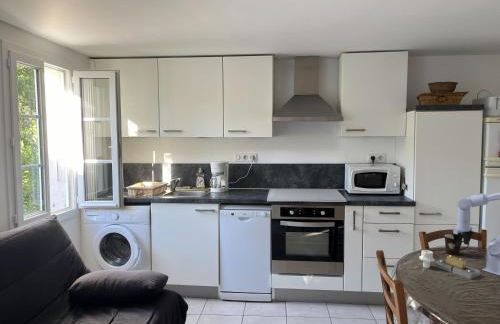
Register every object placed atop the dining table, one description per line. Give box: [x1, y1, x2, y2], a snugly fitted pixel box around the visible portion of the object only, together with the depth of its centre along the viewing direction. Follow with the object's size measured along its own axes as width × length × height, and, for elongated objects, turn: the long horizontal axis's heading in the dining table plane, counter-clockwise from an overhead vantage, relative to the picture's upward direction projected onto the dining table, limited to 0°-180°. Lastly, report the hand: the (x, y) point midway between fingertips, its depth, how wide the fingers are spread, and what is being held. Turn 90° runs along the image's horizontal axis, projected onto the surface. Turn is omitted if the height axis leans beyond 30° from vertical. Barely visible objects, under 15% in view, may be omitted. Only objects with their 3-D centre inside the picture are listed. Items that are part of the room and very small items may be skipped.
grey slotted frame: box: [433, 258, 481, 280], centre depth 174 cm, size 18×8×3 cm, turn 31°
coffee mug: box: [444, 233, 470, 257], centre depth 198 cm, size 12×9×10 cm
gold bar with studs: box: [445, 254, 467, 270], centre depth 175 cm, size 8×3×7 cm, turn 31°
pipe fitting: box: [418, 249, 436, 269], centre depth 179 cm, size 6×7×8 cm
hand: (462, 245), depth 183 cm, fingers open, 7 cm apart
